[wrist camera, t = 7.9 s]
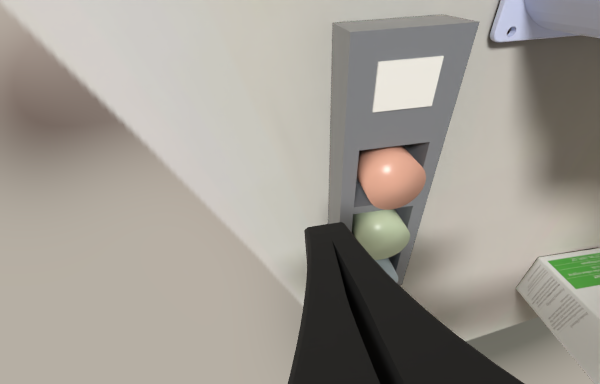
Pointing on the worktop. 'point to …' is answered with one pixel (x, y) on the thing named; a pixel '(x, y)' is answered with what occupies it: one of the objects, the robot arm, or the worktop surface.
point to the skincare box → (569, 303)
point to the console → (392, 104)
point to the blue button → (388, 268)
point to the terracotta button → (390, 176)
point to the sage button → (380, 233)
